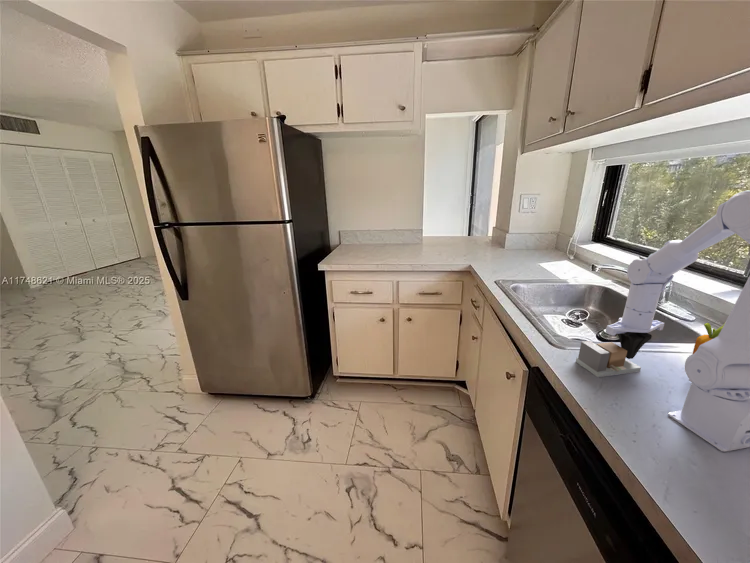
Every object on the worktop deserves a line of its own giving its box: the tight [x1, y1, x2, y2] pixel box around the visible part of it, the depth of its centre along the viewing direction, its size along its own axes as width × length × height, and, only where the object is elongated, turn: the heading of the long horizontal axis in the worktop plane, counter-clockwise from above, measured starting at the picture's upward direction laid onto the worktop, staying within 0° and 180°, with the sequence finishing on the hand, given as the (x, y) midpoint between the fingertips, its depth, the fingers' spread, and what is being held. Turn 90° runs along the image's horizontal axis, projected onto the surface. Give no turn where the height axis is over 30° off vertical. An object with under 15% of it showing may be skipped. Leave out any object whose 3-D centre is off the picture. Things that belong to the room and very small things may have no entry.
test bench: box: [575, 340, 642, 378], centre depth 79 cm, size 7×12×6 cm, turn 99°
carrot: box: [692, 322, 725, 354], centre depth 71 cm, size 5×5×15 cm
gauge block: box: [596, 341, 627, 371], centre depth 78 cm, size 6×6×4 cm
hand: (627, 356), depth 80 cm, fingers closed
